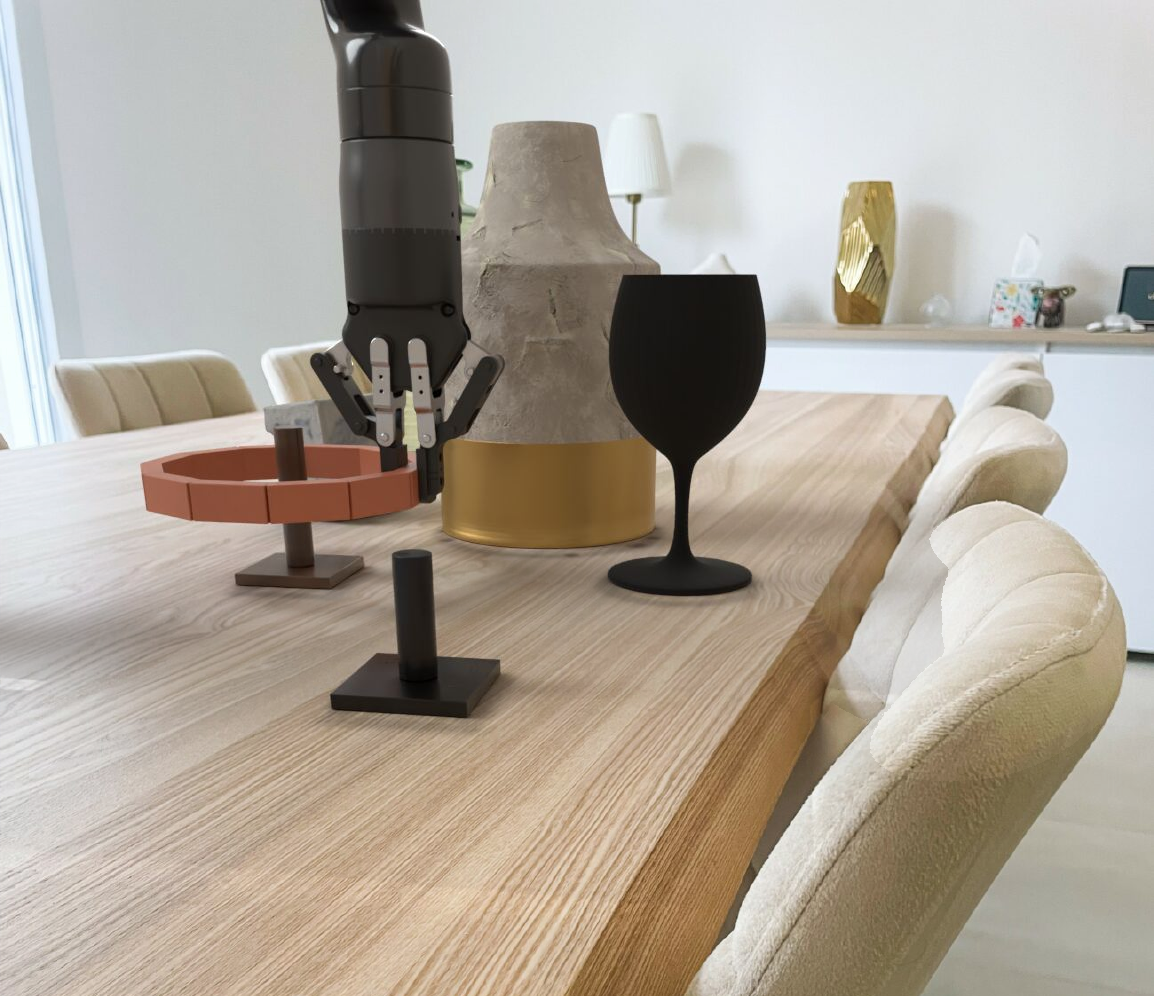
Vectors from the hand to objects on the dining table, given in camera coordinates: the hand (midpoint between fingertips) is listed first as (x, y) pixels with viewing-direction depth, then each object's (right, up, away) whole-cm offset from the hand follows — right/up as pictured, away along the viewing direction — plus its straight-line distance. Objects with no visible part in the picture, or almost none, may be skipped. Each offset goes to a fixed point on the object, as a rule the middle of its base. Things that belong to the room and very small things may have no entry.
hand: (414, 500), depth 80 cm
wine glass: (+19, -5, +3) cm, 20 cm away
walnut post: (-9, -5, +4) cm, 10 cm away
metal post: (+3, -15, -20) cm, 25 cm away
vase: (+9, +2, +20) cm, 22 cm away
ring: (-9, +1, +1) cm, 9 cm away
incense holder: (-10, +5, +26) cm, 29 cm away
